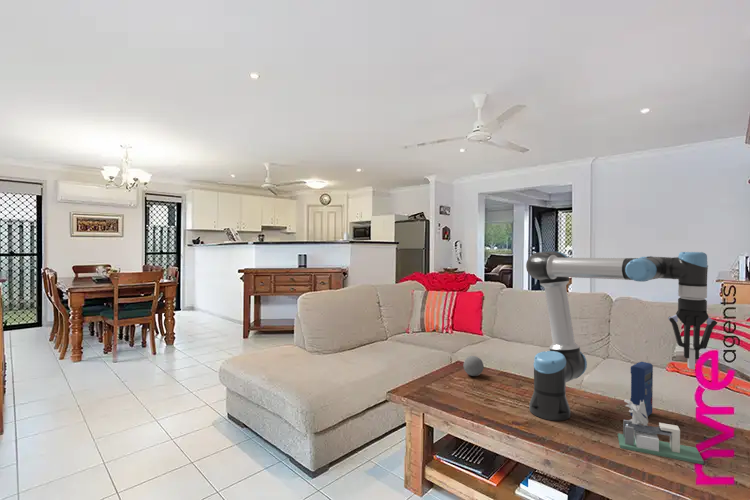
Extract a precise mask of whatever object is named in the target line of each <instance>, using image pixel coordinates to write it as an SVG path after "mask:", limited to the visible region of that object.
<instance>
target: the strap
mask: <svg viewBox="0 0 750 500" xmlns="http://www.w3.org/2000/svg"><path fill="white" fill-rule="evenodd" d="M625 426H629V427H634V430H635V431H642V432H648V433H655V434H657V435H663V436H668V437H670V436H671V432H670V431H664V430H661V429H660V426H652V425H651V426H650V425H647V426H646V425H643V424H641V425H639V424H632V423H630V422H625Z"/></svg>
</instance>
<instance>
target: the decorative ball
mask: <svg viewBox="0 0 750 500" xmlns="http://www.w3.org/2000/svg"><path fill="white" fill-rule="evenodd" d="M484 367H485V366H484V363H483V361H482V359H481V358H480V357H479V356H476V355H470V356H467V357H466V358H465V359H464V361H463V370H464V372H465V373H466V374H467V375H469V376H471V377H478V376H480V375H481V374H482V373H483V372H484V369H485V368H484Z"/></svg>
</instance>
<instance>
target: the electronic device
mask: <svg viewBox="0 0 750 500" xmlns="http://www.w3.org/2000/svg"><path fill="white" fill-rule="evenodd" d="M653 370H654V365H653V364H652V363H650V362H646V361H639V362H636V363H634V364H633V365H631V366H630V398H629V400H631V401H632V402H633V404H636V406H637V405H639V406H640V400H641V402H643V400H644V404H645V408H646V413H647V417H649V416H651V415H652V413H653V389H654V388H653V386H654V385H653V381H654V380H653V378H654V377H653V375H654V371H653ZM629 414H630V416H631V417H632V416H633V413H630V412H629ZM641 414H642V413H641ZM642 415H643V416H644V417H645V418H646V416H645V415H644V414H642ZM646 419H647V418H646Z"/></svg>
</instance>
